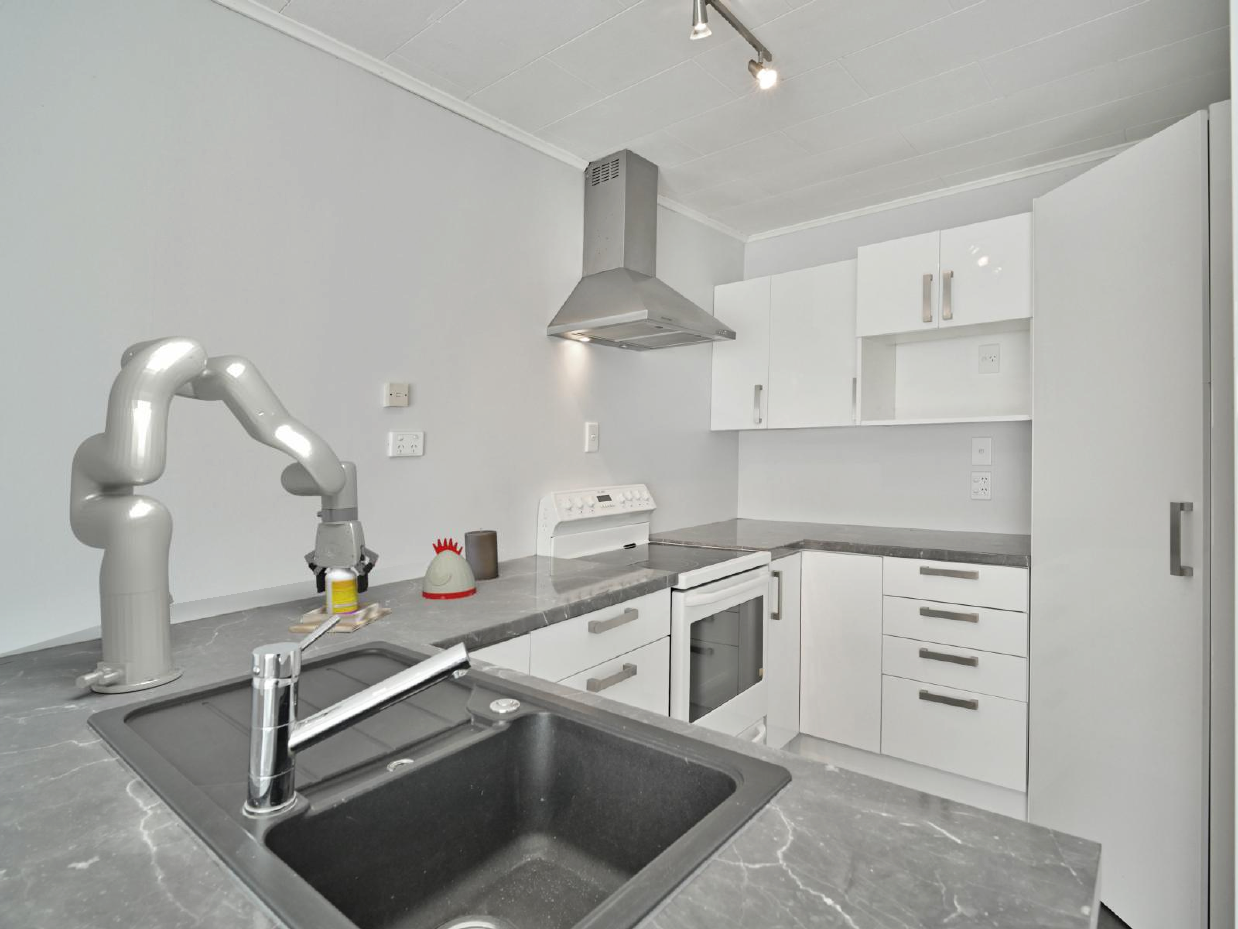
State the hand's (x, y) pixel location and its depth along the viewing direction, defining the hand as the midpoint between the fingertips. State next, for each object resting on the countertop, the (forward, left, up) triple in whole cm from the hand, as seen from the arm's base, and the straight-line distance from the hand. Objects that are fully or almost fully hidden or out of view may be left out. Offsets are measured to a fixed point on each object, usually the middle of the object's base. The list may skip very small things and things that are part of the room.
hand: (342, 591), depth 151 cm
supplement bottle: (0, 0, -6) cm, 6 cm away
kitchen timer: (+30, -13, -7) cm, 33 cm away
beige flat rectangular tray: (0, 0, -7) cm, 7 cm away
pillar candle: (+53, -14, -7) cm, 55 cm away
